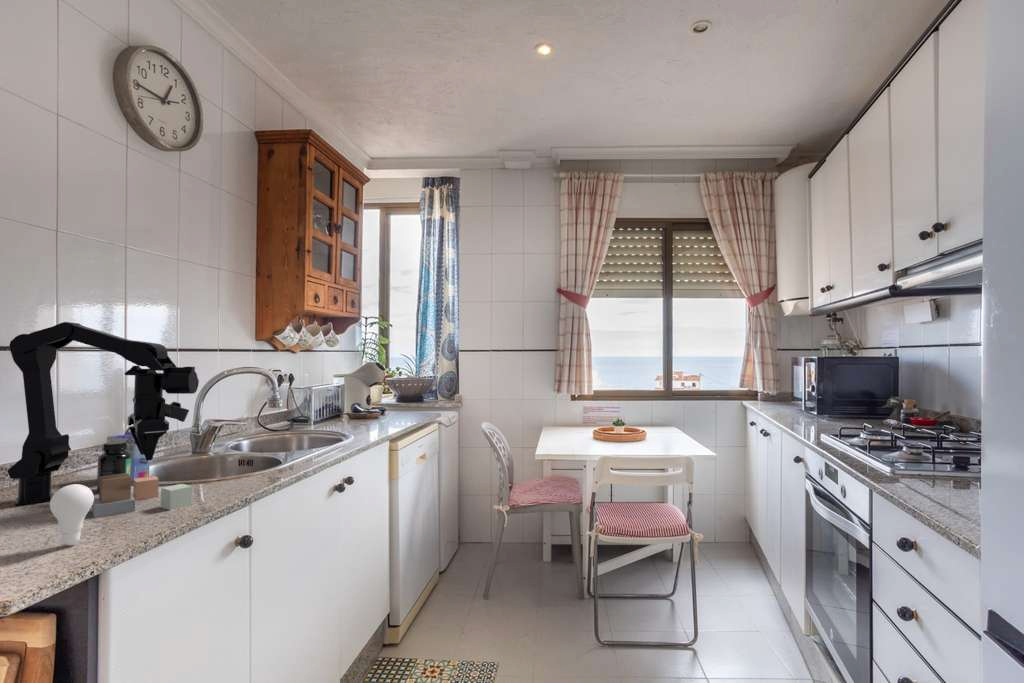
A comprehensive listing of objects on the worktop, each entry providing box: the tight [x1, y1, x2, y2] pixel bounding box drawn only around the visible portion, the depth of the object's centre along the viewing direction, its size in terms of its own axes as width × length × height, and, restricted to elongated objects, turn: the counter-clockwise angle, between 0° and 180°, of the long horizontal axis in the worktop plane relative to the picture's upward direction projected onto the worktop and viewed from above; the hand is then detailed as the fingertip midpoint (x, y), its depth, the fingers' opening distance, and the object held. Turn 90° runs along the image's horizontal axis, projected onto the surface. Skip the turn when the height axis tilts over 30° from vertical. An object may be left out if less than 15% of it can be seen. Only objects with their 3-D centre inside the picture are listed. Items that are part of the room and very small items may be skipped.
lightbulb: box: [49, 483, 95, 547], centre depth 93 cm, size 6×6×11 cm
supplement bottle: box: [96, 441, 131, 493], centre depth 132 cm, size 7×7×12 cm
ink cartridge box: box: [106, 427, 151, 483], centre depth 143 cm, size 10×6×14 cm, turn 78°
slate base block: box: [91, 493, 136, 519], centre depth 114 cm, size 7×7×3 cm
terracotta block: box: [132, 475, 160, 501], centre depth 125 cm, size 4×4×4 cm
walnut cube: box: [98, 473, 132, 504], centre depth 114 cm, size 5×5×5 cm
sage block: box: [160, 483, 193, 511], centre depth 118 cm, size 4×4×4 cm
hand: (146, 457), depth 125 cm, fingers open, 9 cm apart
